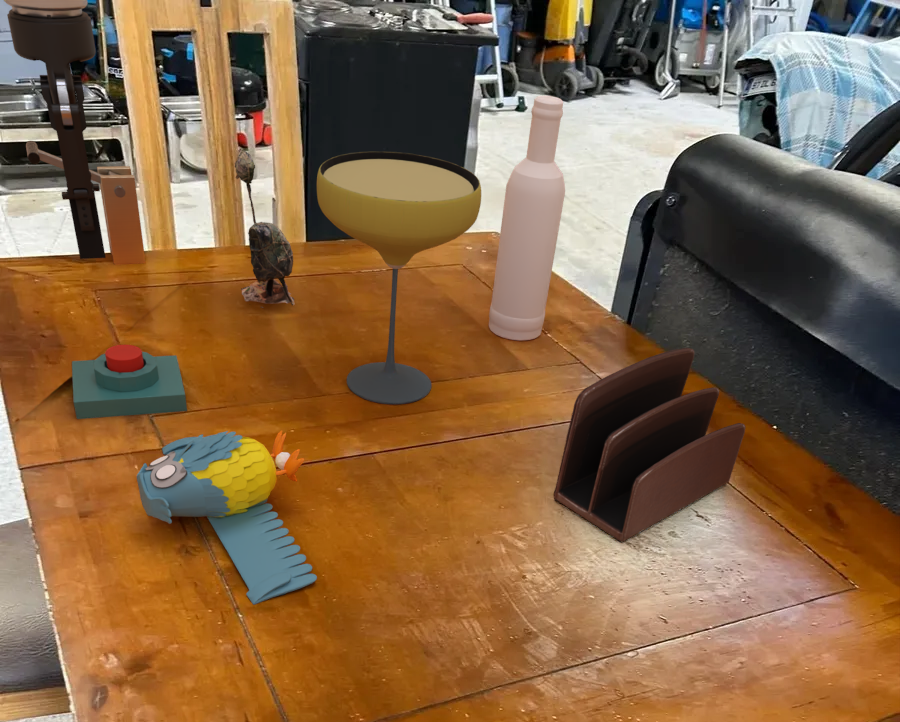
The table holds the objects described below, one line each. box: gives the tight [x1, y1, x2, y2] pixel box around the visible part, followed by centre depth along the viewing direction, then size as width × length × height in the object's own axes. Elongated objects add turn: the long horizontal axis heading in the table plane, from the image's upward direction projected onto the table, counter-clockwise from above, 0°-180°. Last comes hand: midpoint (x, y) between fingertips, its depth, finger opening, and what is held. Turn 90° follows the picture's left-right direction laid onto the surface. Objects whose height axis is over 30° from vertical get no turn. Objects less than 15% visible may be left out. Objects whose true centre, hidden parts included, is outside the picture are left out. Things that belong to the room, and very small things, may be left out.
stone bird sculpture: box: [234, 150, 296, 309], centre depth 121 cm, size 8×11×20 cm
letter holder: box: [553, 347, 746, 543], centre depth 95 cm, size 10×20×14 cm, turn 132°
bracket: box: [96, 165, 146, 266], centre depth 127 cm, size 12×9×14 cm
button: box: [104, 344, 144, 373], centre depth 102 cm, size 4×4×2 cm
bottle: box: [488, 94, 566, 342], centre depth 119 cm, size 8×8×30 cm
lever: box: [25, 140, 118, 185], centre depth 121 cm, size 13×6×2 cm, turn 112°
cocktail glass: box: [316, 151, 482, 405], centre depth 105 cm, size 18×18×25 cm
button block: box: [71, 351, 188, 420], centre depth 103 cm, size 12×10×4 cm
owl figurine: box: [135, 430, 318, 605], centre depth 86 cm, size 28×9×15 cm
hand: (92, 255), depth 101 cm, fingers closed
